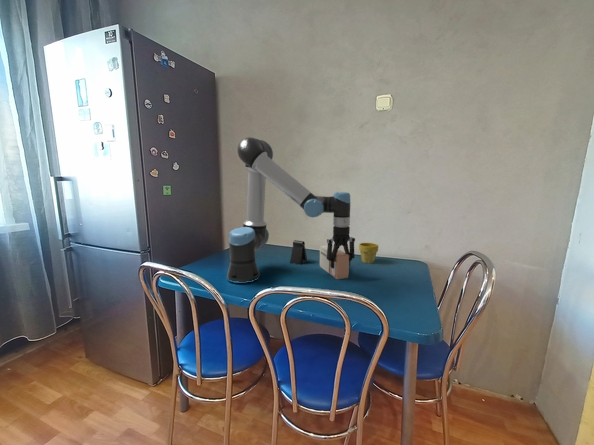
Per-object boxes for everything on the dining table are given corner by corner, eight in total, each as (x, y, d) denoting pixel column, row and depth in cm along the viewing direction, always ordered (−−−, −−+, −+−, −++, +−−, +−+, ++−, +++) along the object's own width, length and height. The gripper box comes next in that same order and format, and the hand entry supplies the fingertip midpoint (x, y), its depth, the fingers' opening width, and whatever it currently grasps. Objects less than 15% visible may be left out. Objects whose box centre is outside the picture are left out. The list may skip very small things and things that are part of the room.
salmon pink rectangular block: (336, 279, 132) (337, 256, 130) (329, 273, 139) (329, 252, 137) (348, 277, 134) (349, 255, 132) (340, 272, 141) (341, 250, 139)
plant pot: (375, 259, 163) (376, 242, 162) (379, 264, 153) (380, 247, 152) (357, 258, 164) (358, 242, 163) (359, 264, 154) (360, 246, 153)
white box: (329, 273, 139) (329, 251, 138) (319, 266, 151) (319, 246, 149) (340, 272, 141) (340, 250, 140) (330, 265, 153) (330, 245, 151)
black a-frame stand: (298, 264, 153) (298, 243, 151) (289, 263, 156) (289, 241, 154) (307, 260, 161) (307, 240, 159) (298, 259, 164) (298, 238, 162)
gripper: (325, 228, 124) (325, 278, 128) (363, 226, 130) (362, 273, 134) (319, 225, 131) (318, 273, 135) (355, 223, 137) (354, 269, 141)
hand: (340, 273), depth 135 cm, fingers closed on salmon pink rectangular block, 6 cm apart
